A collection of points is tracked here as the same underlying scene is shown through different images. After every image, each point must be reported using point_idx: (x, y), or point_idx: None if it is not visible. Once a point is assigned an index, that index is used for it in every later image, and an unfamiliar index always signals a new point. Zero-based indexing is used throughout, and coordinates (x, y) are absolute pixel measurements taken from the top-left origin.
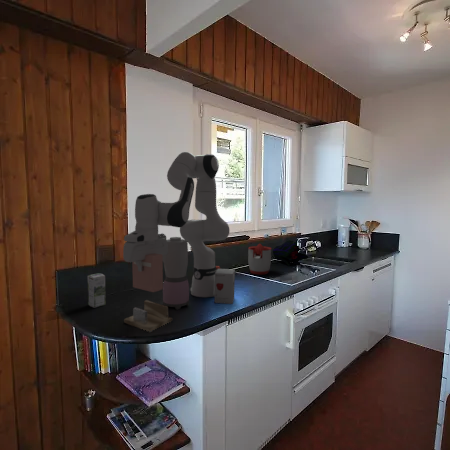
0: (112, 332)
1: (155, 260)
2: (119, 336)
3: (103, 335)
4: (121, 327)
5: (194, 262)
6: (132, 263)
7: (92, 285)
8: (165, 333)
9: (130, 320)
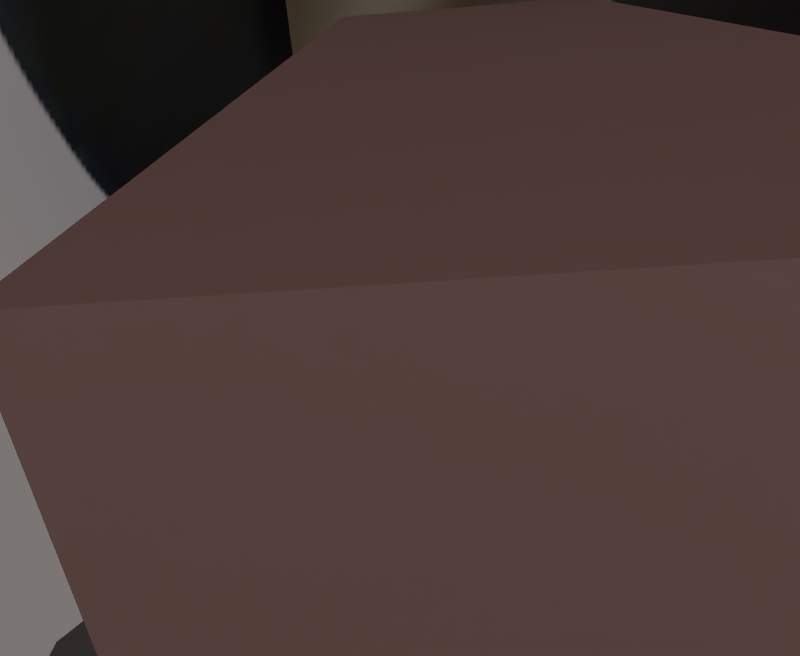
0: (102, 68)
1: None
2: (121, 185)
3: (17, 59)
4: (210, 36)
5: None
6: (245, 94)
7: None
8: None
9: (305, 44)
